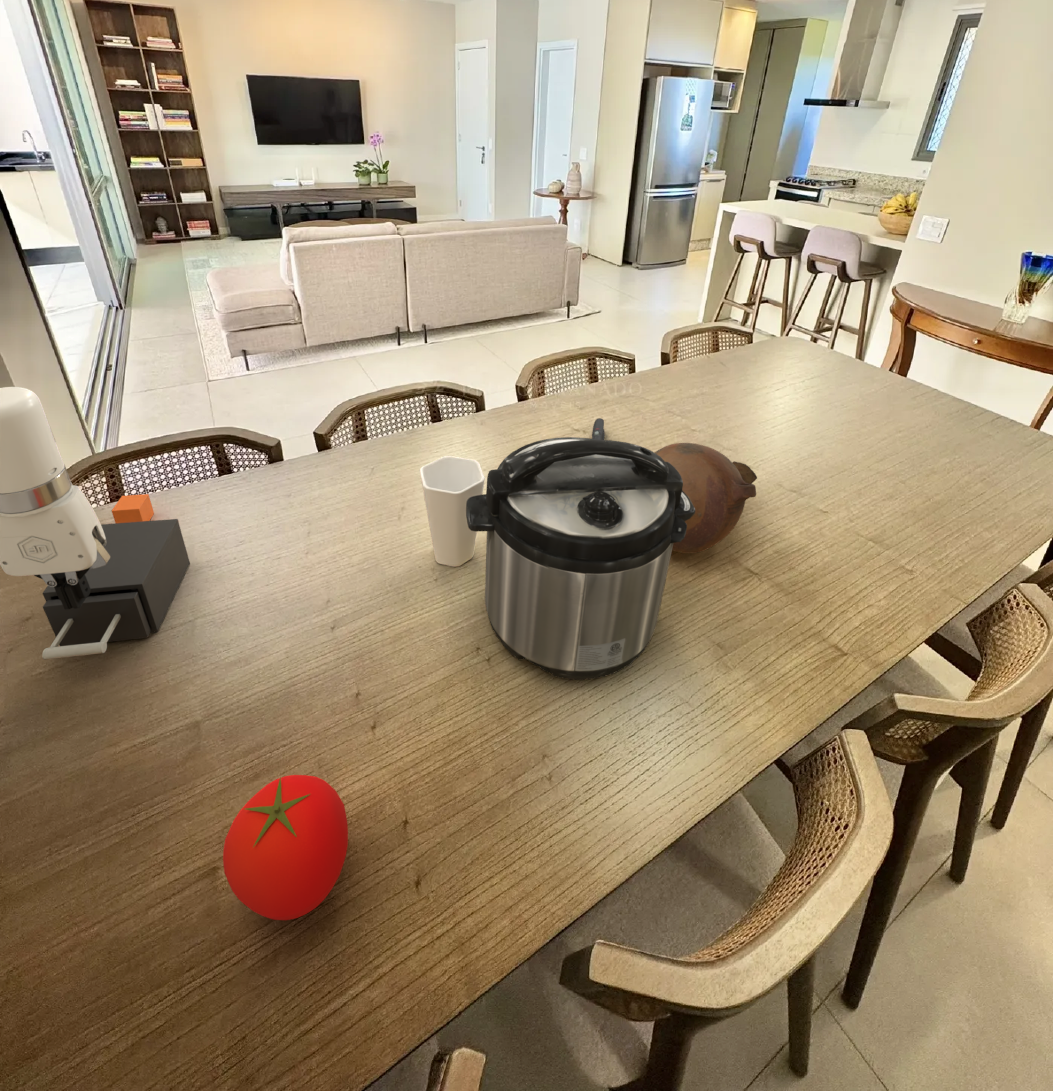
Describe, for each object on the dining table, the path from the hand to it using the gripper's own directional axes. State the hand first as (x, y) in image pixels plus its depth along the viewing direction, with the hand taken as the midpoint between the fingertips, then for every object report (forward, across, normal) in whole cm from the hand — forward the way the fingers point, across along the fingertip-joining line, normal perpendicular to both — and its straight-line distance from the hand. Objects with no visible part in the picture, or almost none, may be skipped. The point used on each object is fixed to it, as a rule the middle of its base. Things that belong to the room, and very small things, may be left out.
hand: (77, 600), depth 79 cm
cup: (+12, +51, +15) cm, 54 cm away
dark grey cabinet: (+11, 0, +11) cm, 16 cm away
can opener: (+12, +86, +47) cm, 99 cm away
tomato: (+12, +32, -32) cm, 46 cm away
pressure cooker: (+12, +68, -1) cm, 69 cm away
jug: (+12, +98, +17) cm, 100 cm away
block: (+11, -7, +31) cm, 34 cm away
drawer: (+10, 0, +6) cm, 12 cm away
